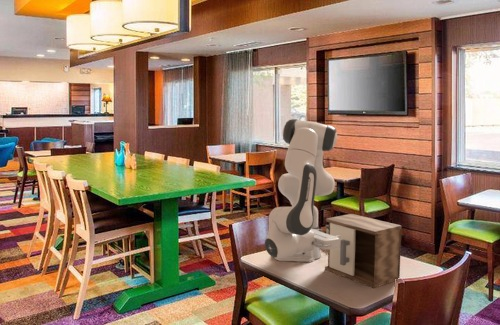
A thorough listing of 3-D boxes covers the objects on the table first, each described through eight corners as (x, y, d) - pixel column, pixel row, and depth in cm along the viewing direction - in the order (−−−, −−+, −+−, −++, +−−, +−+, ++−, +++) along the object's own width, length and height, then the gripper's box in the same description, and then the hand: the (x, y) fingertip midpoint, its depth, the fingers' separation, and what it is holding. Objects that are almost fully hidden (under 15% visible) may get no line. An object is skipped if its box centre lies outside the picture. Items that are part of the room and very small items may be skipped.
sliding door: (345, 277, 189) (347, 230, 186) (322, 268, 199) (323, 224, 197) (354, 275, 191) (355, 228, 189) (330, 266, 202) (331, 222, 200)
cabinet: (373, 288, 182) (375, 231, 179) (324, 269, 203) (325, 218, 200) (399, 279, 191) (401, 225, 188) (350, 262, 212) (351, 213, 209)
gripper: (323, 238, 168) (350, 232, 176) (286, 225, 185) (312, 220, 193) (323, 256, 169) (350, 248, 177) (286, 241, 186) (312, 235, 194)
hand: (330, 234), depth 185 cm, fingers open, 8 cm apart
